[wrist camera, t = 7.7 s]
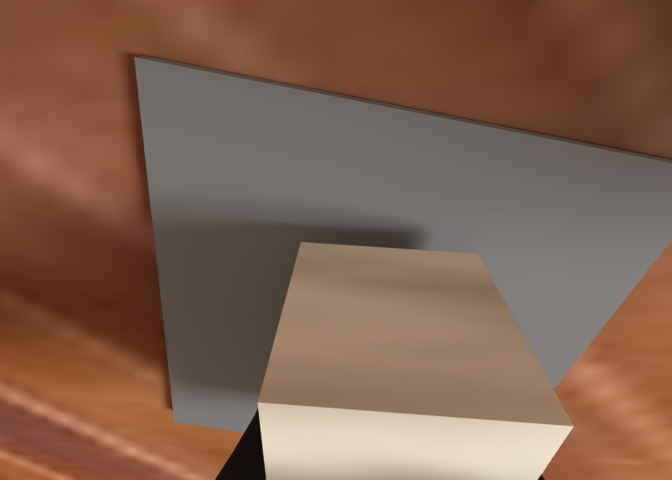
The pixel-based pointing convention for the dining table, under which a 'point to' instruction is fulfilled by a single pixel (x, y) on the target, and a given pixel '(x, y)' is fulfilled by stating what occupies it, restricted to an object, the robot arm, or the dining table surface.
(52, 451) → the dining table surface
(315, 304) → the pale wooden block
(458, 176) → the rubber mat
